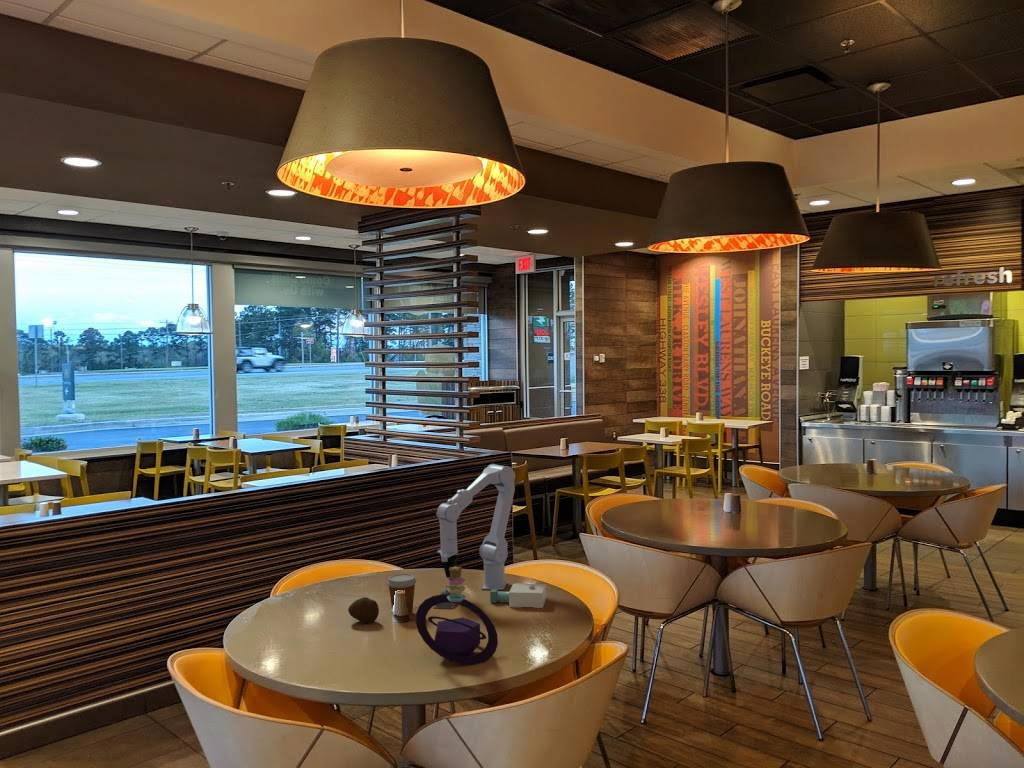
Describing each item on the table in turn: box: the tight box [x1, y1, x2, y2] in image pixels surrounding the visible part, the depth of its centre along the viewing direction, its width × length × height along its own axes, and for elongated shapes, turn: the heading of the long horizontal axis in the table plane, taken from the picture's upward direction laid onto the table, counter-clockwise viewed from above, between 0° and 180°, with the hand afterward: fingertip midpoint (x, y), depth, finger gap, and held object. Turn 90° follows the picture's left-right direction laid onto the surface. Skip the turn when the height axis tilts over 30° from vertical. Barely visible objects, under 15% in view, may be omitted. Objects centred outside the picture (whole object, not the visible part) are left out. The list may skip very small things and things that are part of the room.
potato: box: [347, 596, 380, 624], centre depth 253 cm, size 7×10×8 cm
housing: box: [508, 582, 547, 609], centre depth 268 cm, size 10×11×6 cm
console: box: [432, 588, 461, 610], centre depth 272 cm, size 15×7×2 cm, turn 171°
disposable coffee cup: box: [386, 573, 417, 616], centre depth 260 cm, size 10×10×12 cm
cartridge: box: [489, 589, 509, 604], centre depth 269 cm, size 3×15×4 cm, turn 81°
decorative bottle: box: [415, 565, 499, 666], centre depth 223 cm, size 22×21×25 cm
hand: (449, 577), depth 275 cm, fingers closed
